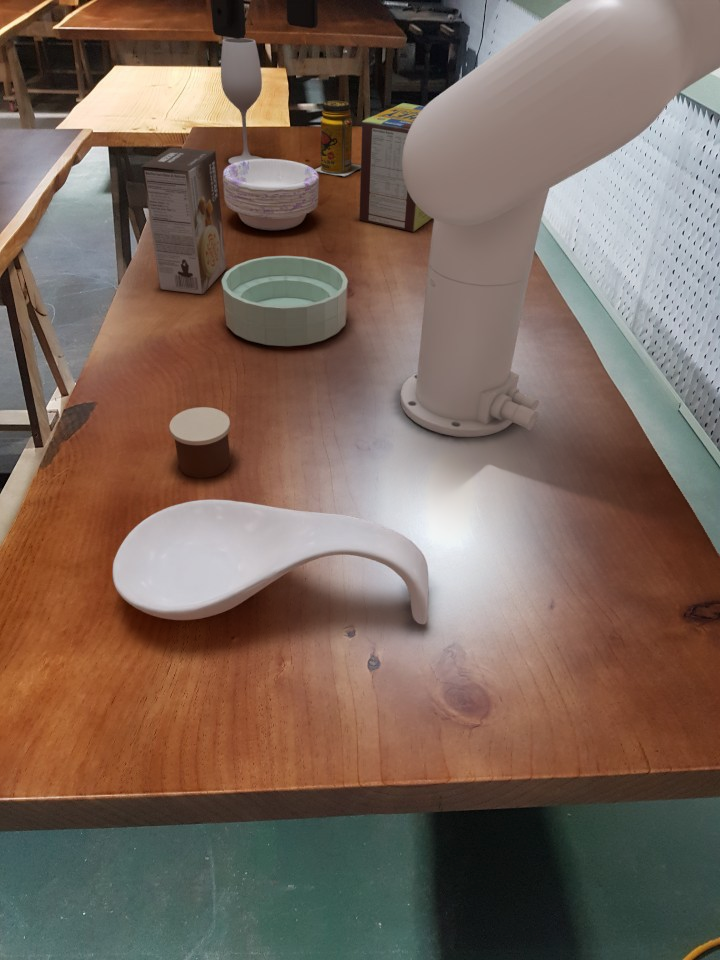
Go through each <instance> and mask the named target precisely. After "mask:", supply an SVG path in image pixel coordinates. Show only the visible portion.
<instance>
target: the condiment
mask: <svg viewBox="0 0 720 960" xmlns="http://www.w3.org/2000/svg"><path fill="white" fill-rule="evenodd" d="M351 107H352V106H351V103H349V102H348V101H343V100H328V101H325V102H323V103H322V112H321V113H322V117H321V119H320V166H319V167H317V168H315V169H314V170H315V171H316V172H317V173H322V174H328V175H333V176H342V177H347V176H349V175H351V174H352V173H355V172H356V171H357V170H361V164H355V163H352V153H353V151H352V150H353V149H352V146H353V120H352V117H351V116H352V114H351Z"/></svg>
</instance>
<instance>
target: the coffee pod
mask: <svg viewBox="0 0 720 960" xmlns="http://www.w3.org/2000/svg"><path fill="white" fill-rule="evenodd" d="M168 428H169V433H170V435H171V437H172V438H173V439H174V443H175V444H174V445H175V450H176V456H177V463H178V468H179V470H180V471H181V473H184V475H186V476H188V477H191V478H196V479H209V478H213V477H216V476H219V475H220V474H223V473H224V472H226V470H227V469H228V468H229V467H230V464H231V452H230V443H229V441H230V440H229V432H230V430H231V420H230V417H229V416H228V414H226V412H224V411H223V410H220V409H218V408H214V407H209V406H208V407H207V406H198V407H191V408H188V409H185V410H183V411H180V412H179V413H177V414H176V415H174V416H173V417H172V419H171V420H170V422H169V427H168Z"/></svg>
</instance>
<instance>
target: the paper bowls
mask: <svg viewBox="0 0 720 960" xmlns="http://www.w3.org/2000/svg"><path fill="white" fill-rule="evenodd" d="M319 179H320V176H319V172H318V171H315V169H314V168H313V167H311V166H310V165H307V164H305V163H302V162H298V161H294V160H293V161H292V160H287V159H280V158H279V159H278V158H263V159H252V160H245V161H240V162H236V163H233V164H229V165H228V166H226V167H225V168H224V169H223V172H222V183H223V184H222V185H223V200H224V204H225V206H226V207H227V208H229V209H230V210H231V211H233V212H236V213H237V215H238V217H239V219H240V220H241V221H242V222H243V223H244V225H246V226H248V227H251V228H253V229H257V230H262V231H283V230H284V231H285V230H290V229H293V228H296V227H297V226H299V225H301V224H302V222H303V221H304V220H305V218H306V217H307V214H309V213H311V212H312V211H314V210H316V208H317V207H318V205H319V188H320V187H319Z"/></svg>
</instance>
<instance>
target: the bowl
mask: <svg viewBox="0 0 720 960" xmlns="http://www.w3.org/2000/svg"><path fill="white" fill-rule="evenodd" d="M348 288H349V280H348V278H347V276H346V273H345V272H344V271H343V270H341V269H340V268H338V266H335V265H334V264H331V263H329V262H326V261H323V260H320V259H317V258H311V257H306V256H294V255H273V256H272V255H271V256H263V257H257V258H253V259H249V260H246V261H243V262H241V263H238V264H236V265H233V266H232V267H231V268H229V269H228V270H227V271H225V273H224V274H223V276H222V278H221V293H222V304H223V305H222V306H223V311H224V312H223V315H224V321H225V325H226V327H227V328H228V329H229V330H230V331H231V332H232V333H233V334H234V335H236V336H238V337H240V338H242V339H244V340H245V341H249V342H253V343H257V344H261V345H265V346H277V347H296V346H306V345H311V344H314V343H318V342H323V341H326V340H327V339H329V338H331V337H334V336H335V335H336V334H337V335H338V333H339V332H341V330H342V329H343V328H344V327H345V326H346V323H347V318H348V293H349V292H348V290H349V289H348Z"/></svg>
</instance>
